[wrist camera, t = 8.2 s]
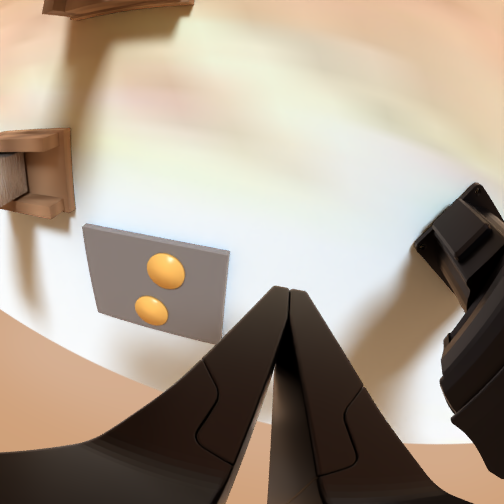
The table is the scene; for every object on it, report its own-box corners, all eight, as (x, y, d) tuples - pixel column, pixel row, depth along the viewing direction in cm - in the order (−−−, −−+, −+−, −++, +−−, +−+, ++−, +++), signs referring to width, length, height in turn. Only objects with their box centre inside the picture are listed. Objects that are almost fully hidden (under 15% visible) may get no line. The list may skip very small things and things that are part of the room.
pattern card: (229, 251, 22) (226, 257, 21) (221, 340, 26) (218, 347, 25) (86, 223, 22) (80, 228, 22) (101, 308, 27) (96, 314, 26)
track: (70, 128, 19) (35, 139, 15) (75, 208, 22) (46, 229, 19) (3, 131, 19) (-27, 142, 16) (11, 198, 23) (-16, 214, 19)
